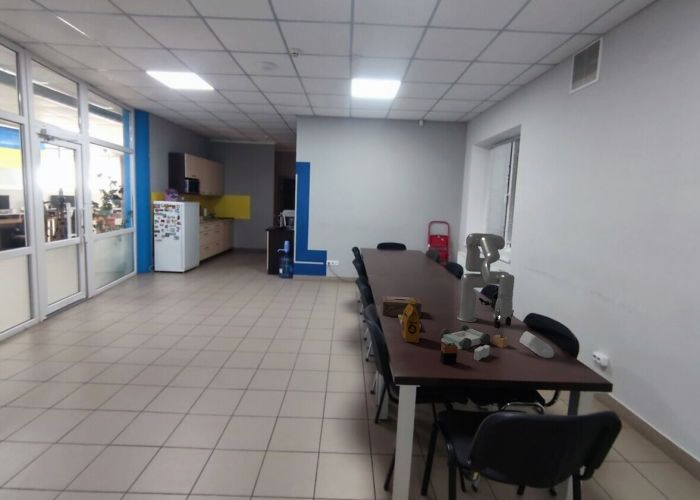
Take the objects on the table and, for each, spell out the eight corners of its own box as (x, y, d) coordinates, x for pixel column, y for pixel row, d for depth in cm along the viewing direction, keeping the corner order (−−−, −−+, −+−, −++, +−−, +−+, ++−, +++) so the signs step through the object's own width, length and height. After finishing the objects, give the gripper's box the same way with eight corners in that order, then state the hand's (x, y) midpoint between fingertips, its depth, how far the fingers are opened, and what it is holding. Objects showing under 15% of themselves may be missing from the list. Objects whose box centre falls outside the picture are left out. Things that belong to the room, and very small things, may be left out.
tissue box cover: (417, 311, 268) (417, 297, 267) (420, 317, 254) (421, 303, 253) (380, 309, 269) (381, 296, 267) (382, 315, 254) (383, 301, 253)
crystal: (515, 335, 218) (540, 352, 194) (525, 329, 218) (552, 345, 194) (519, 345, 219) (545, 363, 195) (530, 339, 219) (557, 357, 195)
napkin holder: (474, 363, 186) (476, 352, 186) (463, 353, 197) (464, 343, 197) (502, 362, 189) (503, 351, 188) (489, 353, 200) (490, 342, 199)
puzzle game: (401, 323, 226) (398, 313, 246) (401, 330, 227) (398, 320, 247) (421, 324, 226) (416, 314, 246) (420, 332, 227) (415, 321, 246)
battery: (439, 360, 187) (441, 341, 185) (452, 360, 187) (454, 341, 186) (443, 364, 182) (444, 344, 181) (456, 364, 183) (458, 344, 182)
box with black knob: (492, 344, 212) (493, 334, 211) (497, 342, 214) (498, 332, 213) (502, 348, 207) (503, 337, 206) (507, 346, 209) (508, 336, 208)
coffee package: (402, 342, 208) (405, 304, 204) (400, 334, 220) (402, 298, 217) (420, 343, 207) (423, 305, 204) (417, 335, 219) (420, 299, 216)
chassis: (466, 333, 227) (467, 323, 226) (490, 343, 213) (491, 332, 212) (438, 339, 214) (439, 329, 213) (462, 350, 200) (463, 340, 199)
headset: (489, 316, 292) (511, 309, 265) (474, 308, 292) (494, 300, 265) (496, 296, 299) (518, 287, 272) (481, 288, 299) (501, 279, 272)
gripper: (508, 293, 214) (505, 322, 216) (489, 296, 205) (486, 326, 207) (520, 296, 208) (517, 326, 210) (501, 299, 199) (498, 331, 201)
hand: (502, 326), depth 208 cm, fingers open, 9 cm apart
